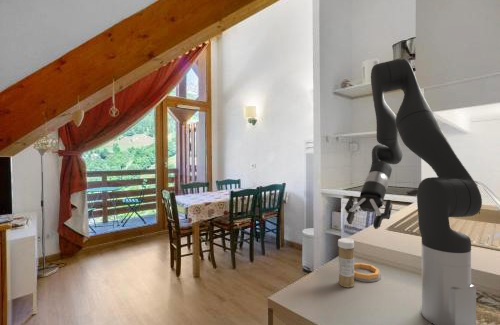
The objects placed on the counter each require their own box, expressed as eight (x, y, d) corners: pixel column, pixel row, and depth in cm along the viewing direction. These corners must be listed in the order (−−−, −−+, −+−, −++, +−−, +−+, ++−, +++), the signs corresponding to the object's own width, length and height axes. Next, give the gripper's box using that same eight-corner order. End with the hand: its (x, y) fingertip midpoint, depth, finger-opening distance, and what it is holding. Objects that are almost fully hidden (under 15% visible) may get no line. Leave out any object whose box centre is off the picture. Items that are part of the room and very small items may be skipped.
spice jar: (343, 279, 82) (343, 236, 82) (357, 284, 79) (357, 240, 78) (335, 284, 79) (334, 239, 79) (349, 289, 76) (348, 243, 75)
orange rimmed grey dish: (388, 279, 81) (388, 273, 81) (360, 284, 79) (360, 277, 79) (366, 266, 91) (366, 261, 91) (340, 270, 89) (340, 264, 89)
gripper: (352, 179, 97) (337, 215, 89) (394, 181, 87) (381, 222, 79) (358, 192, 101) (344, 227, 93) (399, 195, 91) (387, 235, 83)
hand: (361, 225), depth 86 cm, fingers open, 8 cm apart
